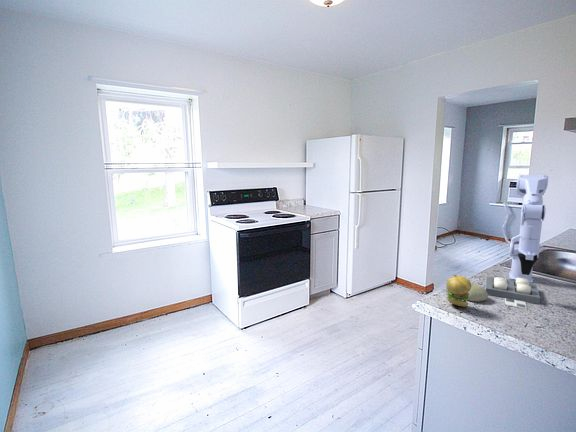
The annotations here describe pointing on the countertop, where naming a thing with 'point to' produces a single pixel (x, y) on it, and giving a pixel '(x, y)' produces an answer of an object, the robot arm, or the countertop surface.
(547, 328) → the countertop surface
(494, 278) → the button
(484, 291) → the sea urchin shell
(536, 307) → the countertop surface
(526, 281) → the button
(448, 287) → the hamburger
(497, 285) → the button
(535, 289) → the board
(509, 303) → the tile
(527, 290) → the button
